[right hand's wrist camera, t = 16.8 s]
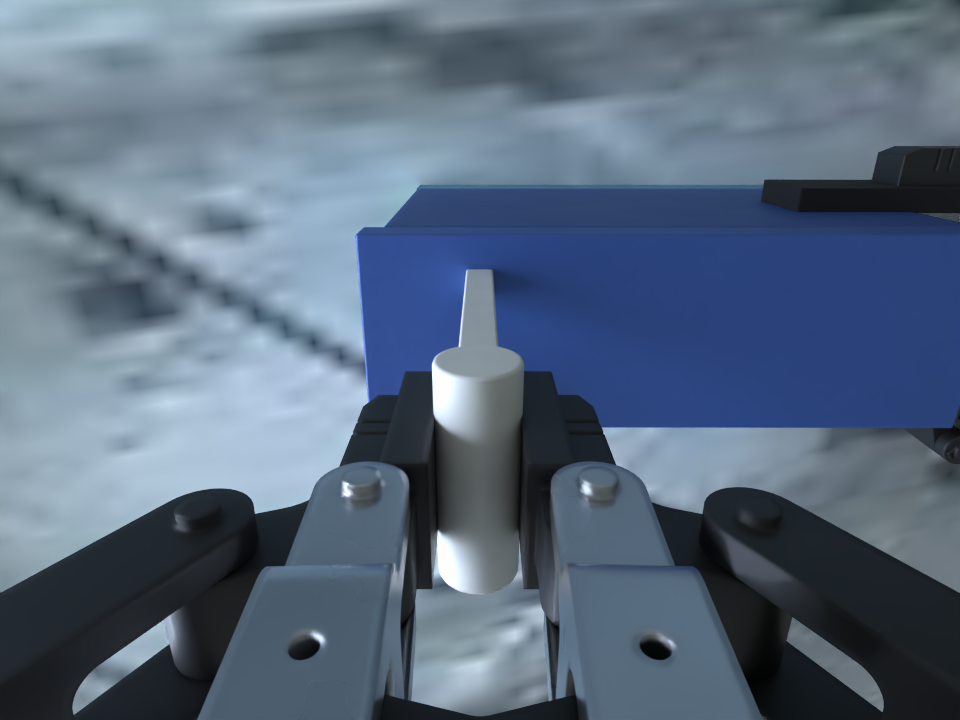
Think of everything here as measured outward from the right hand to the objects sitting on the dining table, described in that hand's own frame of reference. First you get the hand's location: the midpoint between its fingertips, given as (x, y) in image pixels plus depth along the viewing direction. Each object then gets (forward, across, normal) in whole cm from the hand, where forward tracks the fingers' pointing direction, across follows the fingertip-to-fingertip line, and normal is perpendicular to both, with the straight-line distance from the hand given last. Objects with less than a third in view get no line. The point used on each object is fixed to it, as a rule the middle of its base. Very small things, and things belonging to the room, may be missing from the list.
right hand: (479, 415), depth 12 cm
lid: (+6, +5, 0) cm, 8 cm away
